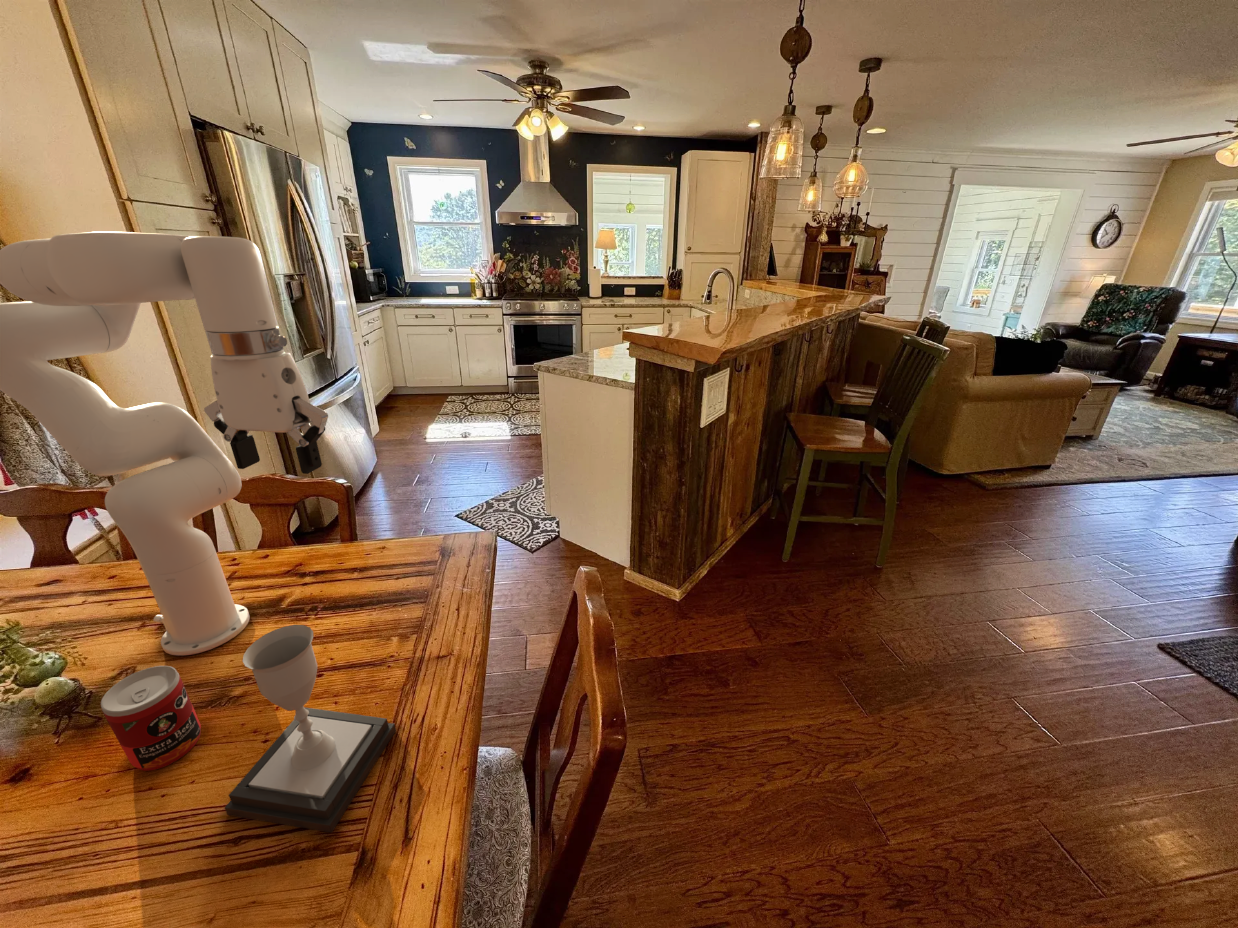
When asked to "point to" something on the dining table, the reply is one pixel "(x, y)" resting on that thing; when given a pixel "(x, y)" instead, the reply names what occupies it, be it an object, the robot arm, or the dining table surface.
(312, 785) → the pan
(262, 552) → the dining table surface
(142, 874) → the dining table surface
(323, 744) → the chalice
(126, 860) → the dining table surface
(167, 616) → the robot arm
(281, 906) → the dining table surface
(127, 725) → the canned food
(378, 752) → the scale
